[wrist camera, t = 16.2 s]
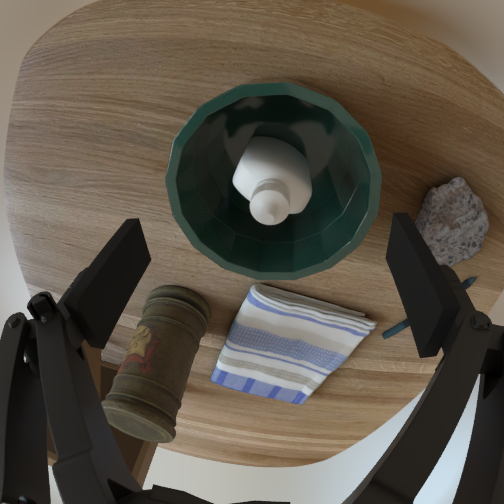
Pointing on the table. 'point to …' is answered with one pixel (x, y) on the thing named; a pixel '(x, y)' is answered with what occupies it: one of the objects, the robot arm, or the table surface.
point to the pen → (406, 322)
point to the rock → (452, 222)
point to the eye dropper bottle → (273, 179)
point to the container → (157, 365)
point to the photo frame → (130, 447)
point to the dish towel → (287, 344)
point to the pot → (238, 207)
